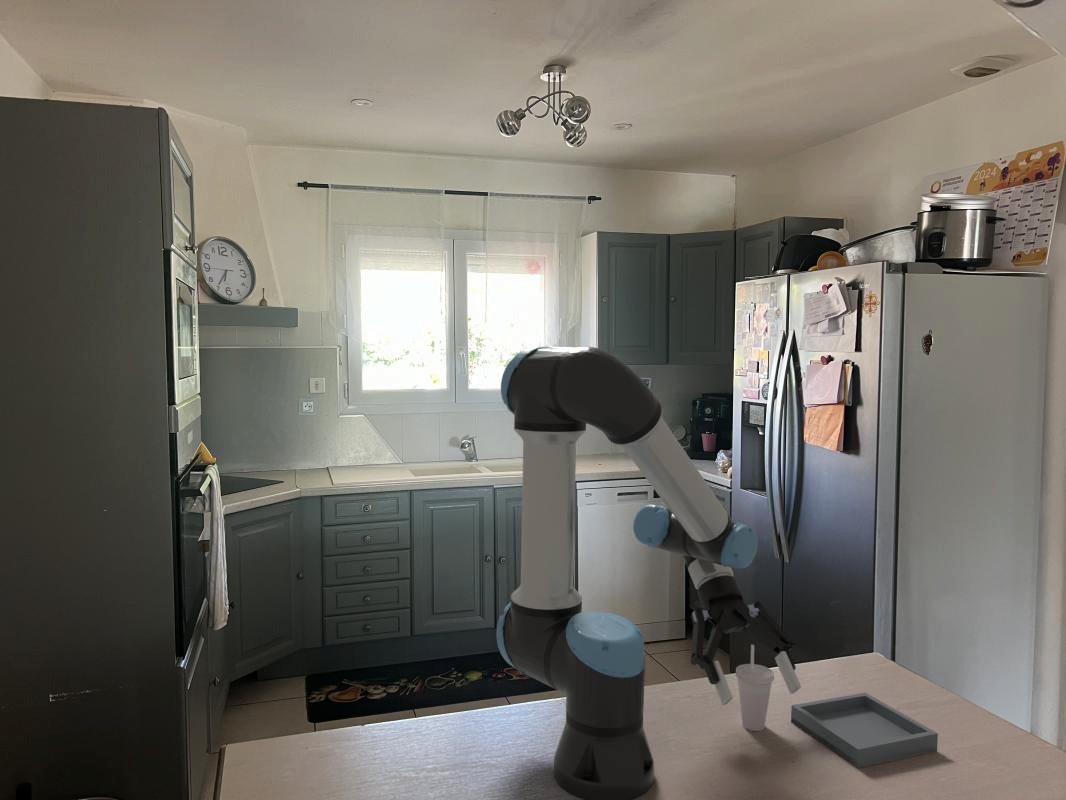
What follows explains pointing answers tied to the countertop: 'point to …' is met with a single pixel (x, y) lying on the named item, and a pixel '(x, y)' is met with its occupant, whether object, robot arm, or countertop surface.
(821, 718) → the tray
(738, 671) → the smoothie
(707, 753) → the countertop surface
